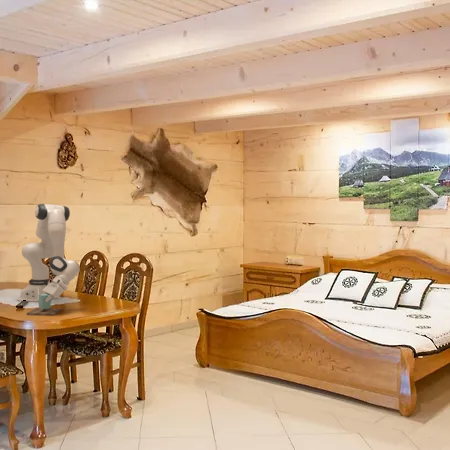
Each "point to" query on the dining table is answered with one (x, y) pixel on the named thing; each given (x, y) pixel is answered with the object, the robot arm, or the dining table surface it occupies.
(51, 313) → the board
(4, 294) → the dining table surface
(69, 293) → the dining table surface
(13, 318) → the dining table surface
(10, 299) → the dining table surface
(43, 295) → the teal rounded block
